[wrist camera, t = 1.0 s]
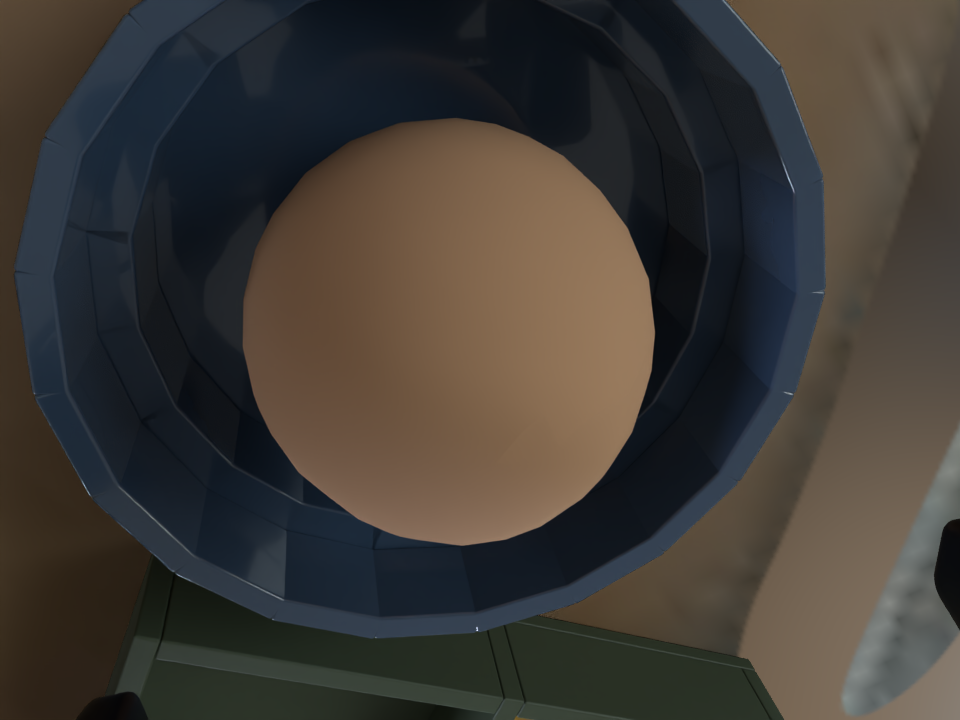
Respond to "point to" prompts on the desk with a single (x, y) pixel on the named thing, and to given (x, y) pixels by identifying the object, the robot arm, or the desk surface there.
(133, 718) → the robot arm
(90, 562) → the desk surface
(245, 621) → the carton
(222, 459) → the bowl
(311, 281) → the egg
